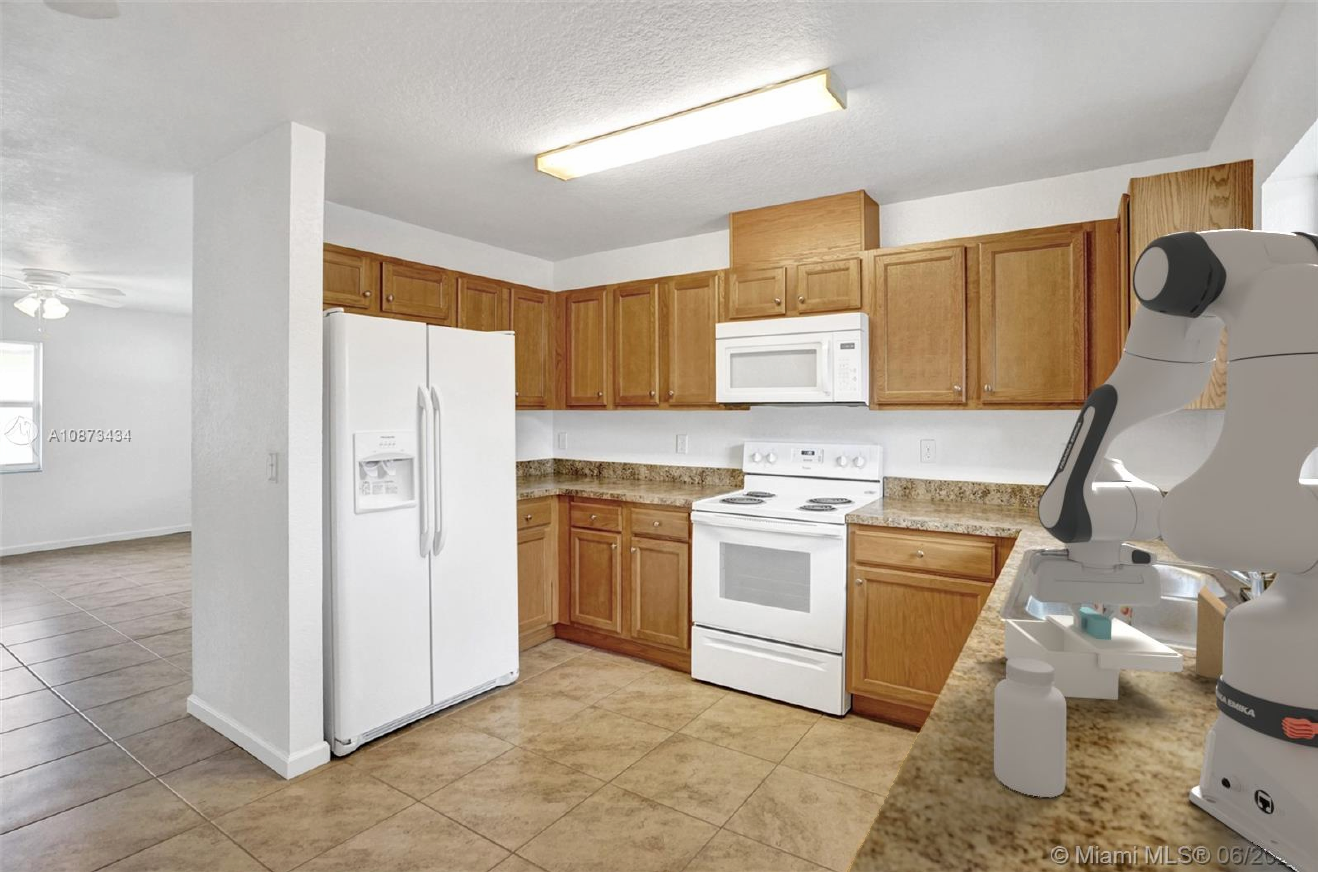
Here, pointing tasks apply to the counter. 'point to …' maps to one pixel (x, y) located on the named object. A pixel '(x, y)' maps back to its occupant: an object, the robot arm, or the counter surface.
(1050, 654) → the box
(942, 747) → the counter surface
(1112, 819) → the counter surface
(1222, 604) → the sandwich container
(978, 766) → the counter surface
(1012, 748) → the pill bottle
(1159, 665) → the lid
